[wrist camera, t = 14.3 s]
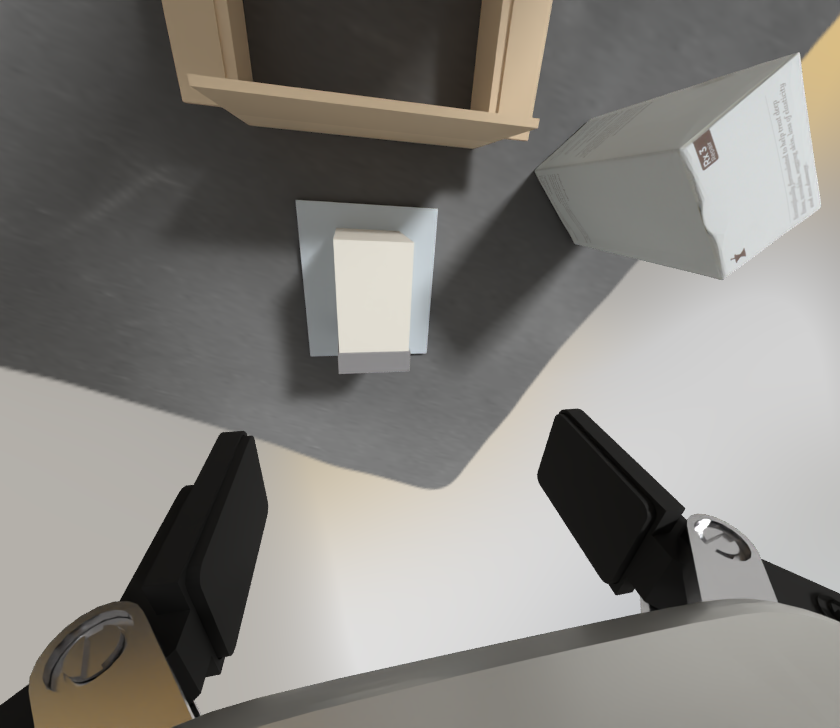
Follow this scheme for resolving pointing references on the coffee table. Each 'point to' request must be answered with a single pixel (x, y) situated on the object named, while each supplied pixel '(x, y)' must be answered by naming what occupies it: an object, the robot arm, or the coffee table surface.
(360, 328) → the box
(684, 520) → the robot arm
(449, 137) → the carton
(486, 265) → the coffee table surface
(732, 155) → the skincare box
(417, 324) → the felt mat
